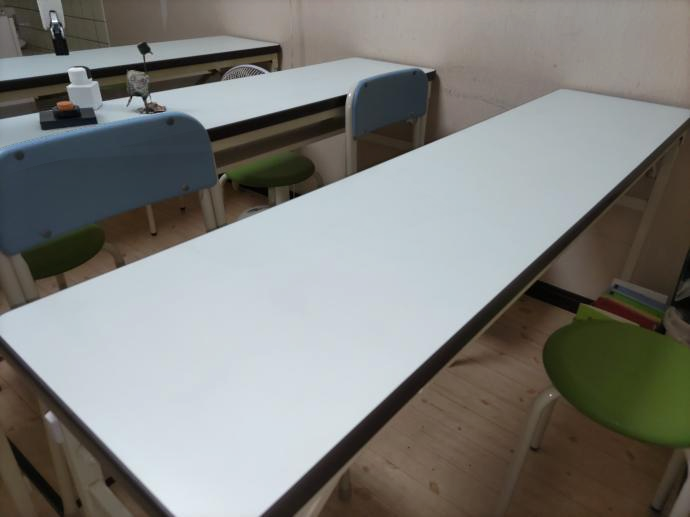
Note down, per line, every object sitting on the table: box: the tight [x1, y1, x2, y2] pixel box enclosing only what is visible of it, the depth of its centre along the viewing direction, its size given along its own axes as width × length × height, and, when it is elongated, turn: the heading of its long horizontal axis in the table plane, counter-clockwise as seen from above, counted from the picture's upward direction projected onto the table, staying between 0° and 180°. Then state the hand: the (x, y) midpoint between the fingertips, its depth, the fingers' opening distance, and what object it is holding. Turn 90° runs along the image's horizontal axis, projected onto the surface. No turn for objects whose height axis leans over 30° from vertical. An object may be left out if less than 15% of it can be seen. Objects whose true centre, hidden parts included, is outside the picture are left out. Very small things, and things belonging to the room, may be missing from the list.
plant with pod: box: [125, 40, 167, 115], centre depth 151 cm, size 8×11×20 cm
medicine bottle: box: [65, 65, 104, 111], centre depth 155 cm, size 7×7×12 cm
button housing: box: [38, 105, 99, 131], centre depth 144 cm, size 14×11×4 cm
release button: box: [56, 100, 74, 110], centre depth 142 cm, size 4×4×2 cm
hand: (61, 52), depth 135 cm, fingers open, 9 cm apart
